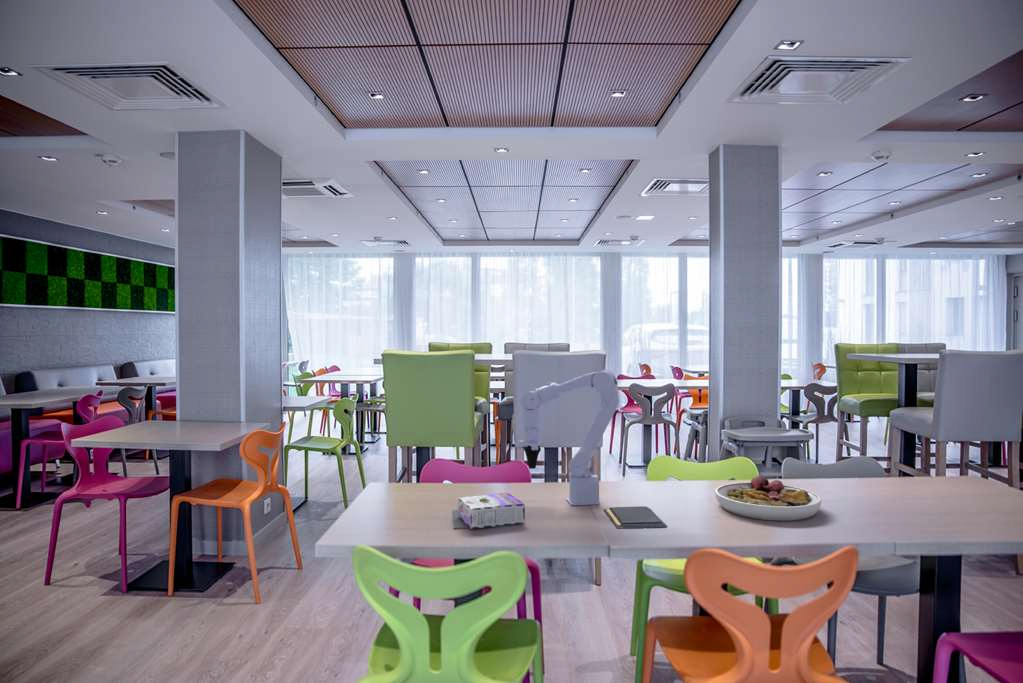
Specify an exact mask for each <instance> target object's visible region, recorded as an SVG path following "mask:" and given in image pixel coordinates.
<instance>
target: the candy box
mask: <svg viewBox="0 0 1023 683" xmlns="http://www.w3.org/2000/svg"><path fill="white" fill-rule="evenodd" d="M457 510H458V516H459V517H460V518H461V519H462V520H463V521H464V522H465V523H466V524H467V525H468V526H469V527H470V528H469V529H470V530H473V529H482V528H484V527H488V528H494V527H493V526H502V525H510V526H511V525H518V524H525V522H526V521H525V520H526V519H525V517H526V515H525V513H526V504H525V503H524V501H523V502H522V501H521V500H519V498H516V497H515V496H513V495H512V494H510V493H509V492H501V493H492V494H483V495H472V496H471V495H470V496H461V497H457ZM484 529H485V528H484Z"/></svg>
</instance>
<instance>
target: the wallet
mask: <svg viewBox="0 0 1023 683" xmlns="http://www.w3.org/2000/svg"><path fill="white" fill-rule="evenodd" d="M602 510H603V512H604V513H605V515H606V516H607V517H608V518H609V520H610V521H611V523H612V525H613V526H614V527H615V528H616V529H617V530H639V529H641V530H642V529H644V528H646V529H667V527H668V525H667V524H666V523H665V522H664V521H663V520H662V519H661V518H660V517H659V516H658V515H656V513H655V512H654V511H653V509H651V508H650V507H647V506H643V505H642V506H641V505H640V506H612V507H611V506H610V507H609V508H603V509H602Z"/></svg>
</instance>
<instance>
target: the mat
mask: <svg viewBox="0 0 1023 683" xmlns="http://www.w3.org/2000/svg"><path fill="white" fill-rule="evenodd" d="M452 518H453V519H452V520H453V530H461V529H462V530H463V529H466V530H467V529H471V528H470V527H469V526H468V525H467V524H466V523H465V522H464V521H463V520H462V519H461V518H460V517H459V516H458V509H454V510H452ZM508 527H511V525H502V526H493V527H492V528H508ZM485 528H488V529H489V527H484V529H485Z"/></svg>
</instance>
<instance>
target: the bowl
mask: <svg viewBox="0 0 1023 683" xmlns="http://www.w3.org/2000/svg"><path fill="white" fill-rule="evenodd" d="M714 492H715V498H716V501H717V502H718V504H719V505H720V506H721V507H722V508H723V509H725V511H726V510H727V511H728V512H730V513H732V514H736V515H738V516H742V517H746V518H751V519H755V520H763V521H774V522H775V521H776V522H786V521H787V522H790V521H792V522H793V521H800V520H805V519H808V518H811V517H812V516H814V515H816V513H818V512H819V510H820V508H821V507H822V506H821V505H822V499H821V496H819V494H817V493H815V492H813V491H810V490H807V489H804V488H801V487H796V486H791V485H788V484H787V485H786V484H783V482H782V481H781V480H780V479H775V480H773V481H771V482H769V479H767V477H765V476H763V475H757V476H755V477H753V478H752V479H751V480H750V482H733V483H727V484H723V485H719V486H718V487H716V488H715V491H714Z"/></svg>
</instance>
